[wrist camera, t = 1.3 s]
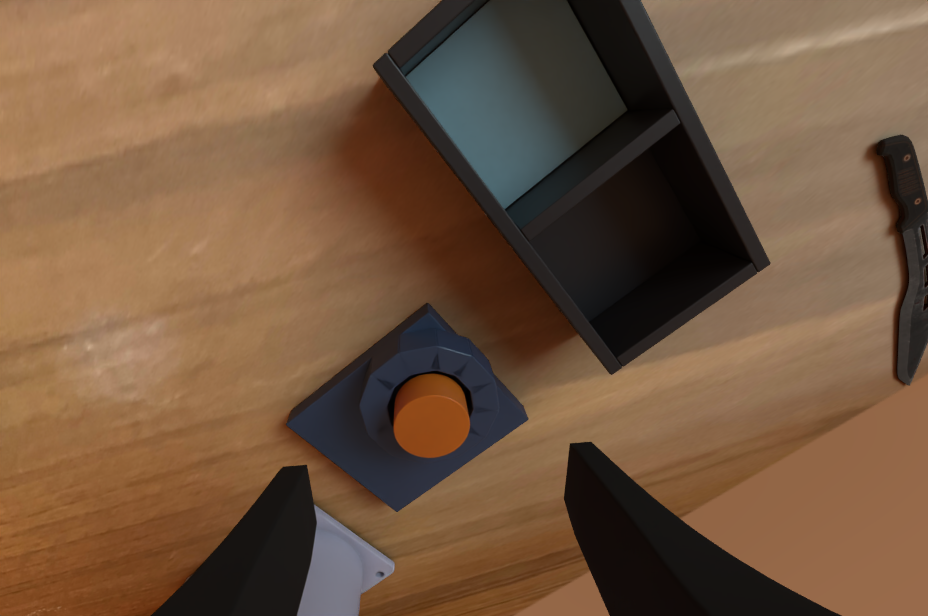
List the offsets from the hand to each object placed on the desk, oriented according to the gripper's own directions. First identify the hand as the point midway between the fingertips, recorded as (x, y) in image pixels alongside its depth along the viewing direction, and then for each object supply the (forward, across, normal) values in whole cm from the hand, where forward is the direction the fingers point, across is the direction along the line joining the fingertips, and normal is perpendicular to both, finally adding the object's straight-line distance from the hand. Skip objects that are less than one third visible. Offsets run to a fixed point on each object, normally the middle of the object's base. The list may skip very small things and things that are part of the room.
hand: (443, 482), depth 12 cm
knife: (+10, -24, -1) cm, 26 cm away
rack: (+10, -6, -7) cm, 14 cm away
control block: (+10, +1, +5) cm, 11 cm away
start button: (+8, 0, +3) cm, 8 cm away
